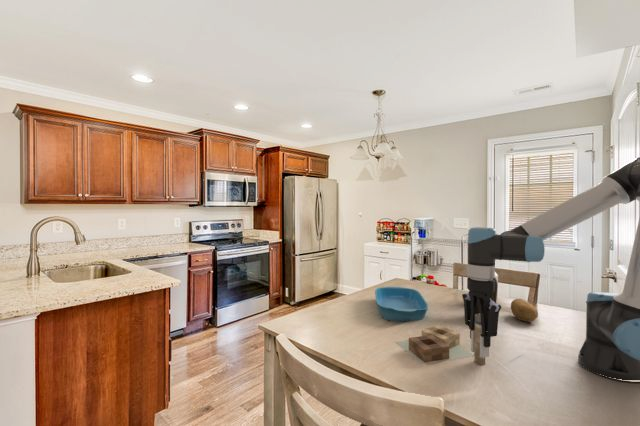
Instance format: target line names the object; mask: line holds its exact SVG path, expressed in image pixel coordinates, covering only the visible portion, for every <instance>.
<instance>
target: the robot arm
mask: <svg viewBox="0 0 640 426" xmlns="http://www.w3.org/2000/svg"><path fill="white" fill-rule="evenodd" d="M636 200H637V201H638V202H639V203H640V156H638V157H636V158H634V159H633V160H631V161H629V162H628V163H626V164H624V165H622V166H621V167H619V168H617V169H616V170H613V172H611V173H609V174H607V175H605V176H603V177H602V178H601V181H600V183H598V184H596V185H594V186H591V187H590V188H588V189H586V190H584V191H583V192H579V194H577V195H575V196H572V197H571V198H569V199H567V200H566V201H564V202H561V203H560V204H558V205H555V206H554V207H552V208H550V209H548V210H546V211H544V212H543V213H540V214H539V215H537V216H535V217H533V218H532V219H529V220H527V221H526V222H524V223H522V224H520V225H519V226H516V227H514V228H513V229H511V230H506V231H504V232H501V233H500V234H497V231H496V228H493V227H484V226H483V227H478V226H477V227H475V226H474V227H470V228H469V230H468V232H467V233H468V235H467V267H466V269H467V273H466V275H467V276H468V277H467V278H466V280H467V282H466V283H467V284H466V288H467V290H468V293H463V294H462V295H461V296H462V300H463V310H464V312H463V313H464V325H465V326H468V328H469V330H470V331H469V337H470V352H471V353H474V345H475V314H477V313H480V315H481V326H482V334H480V357H485V358H488V357H490V347H491V342H492V341H491V340H492V339H491V338H493V337H497V336H498V328H499V326H498V325H499V315H500V311H501V309H502V305H501V304H498V305H497V304H496V303H495V302H494V299H493V296H492V294H493V292H494V291H495V281H494V280H493V278H495V272H496V260H498V261H512V262H527V263H530V262H531V263H534V262H535V263H539V262H542V261H543V260H544V257H545V241H546V240H547V239H550V238H552V237H554V236H556V235H559V234H561V233H562V232H564V231H566V230H569V229H570V228H572V227H574V226H576V225H579V224H581V223H583V222H585V221H586V220H589V219H591V218H592V217H595V216H597V215H599V214H601V213H603V212H605V211H607V210H609V209H610V208H613V207H615V206H616V205H619V204H623V205H627V204H630V203H631V202H633V201H636ZM636 227H637V228H636V231H635V236H634V240H633V245H632V249H631V254H630V258H629V262H628V268H627V271H626V277H625V281H624V285H623V289H622V292H621V293H612V292H606V291H605V292H601V291H591V292H589V293H587V295H586V296H587V297H586V301H585V303H586V313H585V314H586V316H585V317H586V322H585V323H586V325H585V326H586V327H585V329H586V331H585V339H584V342H583V343H582V346H581V348H580V350H579V352H578V356H577V358H578V359H577V361H579V362H578V364H579V363H580V364H581V365H582V366H581V365H580V366H581V367H583V366H584V367H585V368H584V367H583V368H584V369H586V368H587V369H589V370H591V371H593V372H595V373H598V374H601V375H604V376H607V377H611V378H616V379H622V380H640V217H639V219H638V223H637V226H636ZM485 309H486V310H485ZM587 369H586V370H587ZM589 370H588V371H589ZM591 371H590V372H591ZM593 372H592V373H593ZM595 373H594V374H595ZM598 374H597V375H598ZM601 375H600V376H601Z"/></svg>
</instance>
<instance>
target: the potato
mask: <svg viewBox="0 0 640 426" xmlns="http://www.w3.org/2000/svg"><path fill="white" fill-rule="evenodd" d="M510 310H511V313H512V315H513V316H514V317H515V318H517V319H518V320H521V321H524V322H528V323H530V322H533V321H535V320H536V319H537V318H538V317H539V313H538V309H537V308H536V307H535V306H534V304H532V303H531V302H529V301H527V300H525V299H522V298H515V299H513V300H511V304H510Z"/></svg>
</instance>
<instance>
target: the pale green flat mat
mask: <svg viewBox="0 0 640 426" xmlns="http://www.w3.org/2000/svg"><path fill="white" fill-rule="evenodd" d="M395 343H396V344H397V346H398V347H400V348H401V349H403V350H404V351H405V352H406V353H407V354H408V355H410V356H411V357H412V358H413V359H414V360H416V362H418V363H419V365H425V364H431V363H437V362H443V361H444V362H445V361H450V360H456V359H457V360H458V359H464V358H470V357H474V354H473V352H471V351H469V350H467V349H465V348H464V347H462V346H461V345H460V344H459V345H457V346H455V347H453V348H451V349H449V359H445V360H438V361H432V362H425V363H424V362H423V361H422V360H421V359H419V358H418V357H417V356H416V355H415V354H413V353H412V352H411V351H410V350H409V339H408V340H401V341H400V340H399V341H395Z"/></svg>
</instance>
